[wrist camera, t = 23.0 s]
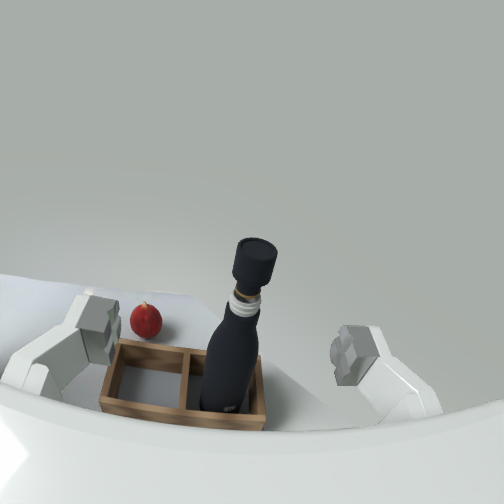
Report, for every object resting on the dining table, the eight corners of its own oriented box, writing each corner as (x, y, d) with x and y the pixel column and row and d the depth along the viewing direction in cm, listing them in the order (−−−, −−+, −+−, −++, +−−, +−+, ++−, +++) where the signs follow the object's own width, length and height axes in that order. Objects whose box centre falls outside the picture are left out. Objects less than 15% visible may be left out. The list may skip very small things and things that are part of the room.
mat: (99, 424, 39) (98, 423, 38) (116, 355, 50) (116, 354, 50) (263, 443, 42) (264, 443, 42) (257, 372, 54) (258, 371, 54)
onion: (167, 331, 58) (168, 300, 54) (151, 351, 53) (150, 321, 49) (142, 319, 59) (140, 288, 55) (125, 337, 54) (121, 306, 50)
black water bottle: (215, 383, 50) (249, 223, 34) (247, 404, 48) (302, 250, 31) (190, 406, 45) (209, 245, 29) (223, 430, 43) (268, 278, 27)
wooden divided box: (106, 419, 39) (98, 401, 36) (120, 359, 49) (116, 337, 46) (257, 437, 43) (266, 421, 40) (253, 375, 53) (260, 355, 50)
